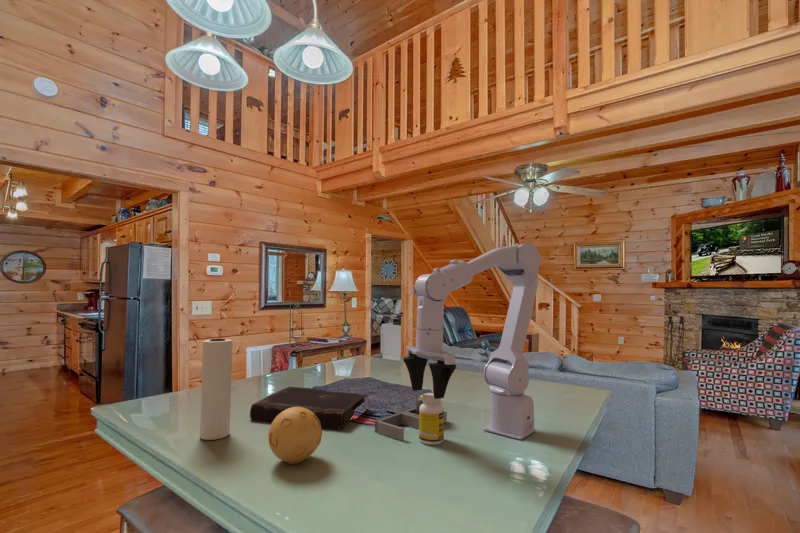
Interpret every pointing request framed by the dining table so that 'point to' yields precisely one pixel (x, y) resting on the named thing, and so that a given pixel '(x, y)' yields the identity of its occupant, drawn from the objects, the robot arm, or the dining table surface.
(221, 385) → the paper towel roll
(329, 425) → the diary
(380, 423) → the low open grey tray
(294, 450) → the stress ball
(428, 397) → the supplement bottle
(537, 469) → the dining table surface
